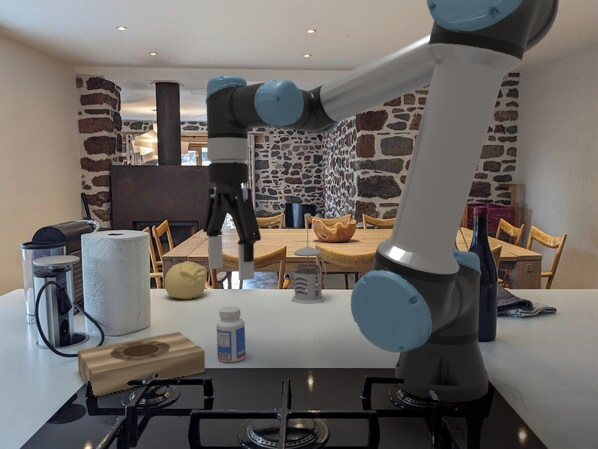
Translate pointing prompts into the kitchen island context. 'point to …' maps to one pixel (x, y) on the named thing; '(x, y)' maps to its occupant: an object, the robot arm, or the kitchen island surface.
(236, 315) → the pill bottle
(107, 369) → the board
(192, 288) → the sculpture
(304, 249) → the french press
